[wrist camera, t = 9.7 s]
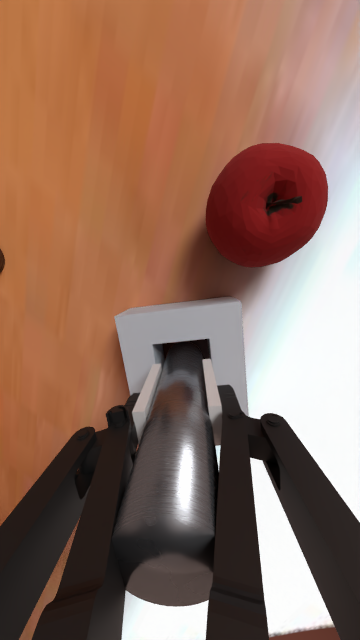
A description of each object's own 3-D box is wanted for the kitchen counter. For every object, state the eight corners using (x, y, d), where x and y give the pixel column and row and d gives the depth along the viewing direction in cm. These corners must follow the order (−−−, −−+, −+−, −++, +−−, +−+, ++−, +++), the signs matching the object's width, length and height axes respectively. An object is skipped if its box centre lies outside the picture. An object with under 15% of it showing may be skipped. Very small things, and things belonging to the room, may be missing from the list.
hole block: (130, 308, 24) (114, 316, 19) (230, 296, 23) (241, 301, 18) (146, 396, 26) (136, 423, 21) (237, 388, 25) (248, 415, 20)
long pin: (169, 376, 22) (119, 605, 7) (164, 343, 22) (93, 518, 6) (204, 373, 22) (235, 606, 6) (200, 339, 21) (226, 515, 6)
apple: (298, 179, 20) (402, 85, 10) (282, 271, 22) (357, 267, 12) (206, 176, 20) (221, 83, 10) (199, 267, 22) (206, 259, 12)
